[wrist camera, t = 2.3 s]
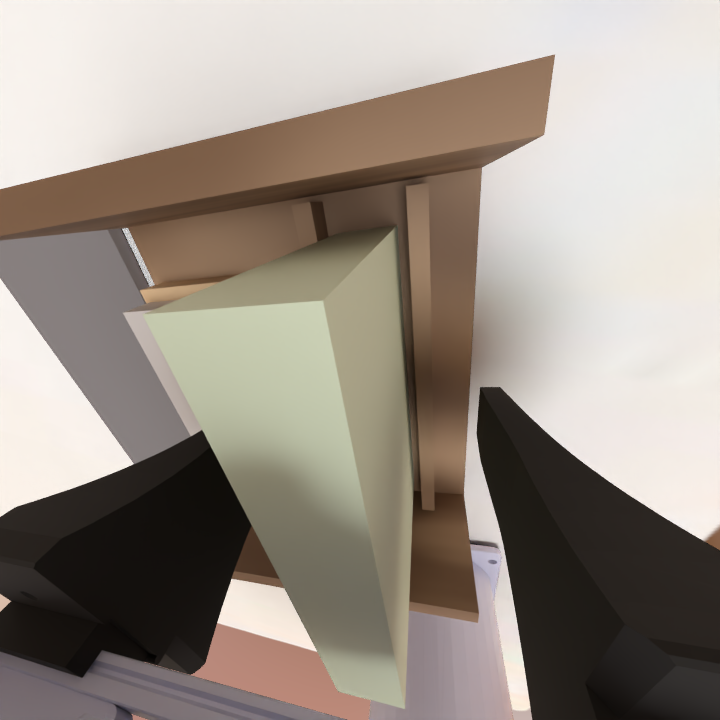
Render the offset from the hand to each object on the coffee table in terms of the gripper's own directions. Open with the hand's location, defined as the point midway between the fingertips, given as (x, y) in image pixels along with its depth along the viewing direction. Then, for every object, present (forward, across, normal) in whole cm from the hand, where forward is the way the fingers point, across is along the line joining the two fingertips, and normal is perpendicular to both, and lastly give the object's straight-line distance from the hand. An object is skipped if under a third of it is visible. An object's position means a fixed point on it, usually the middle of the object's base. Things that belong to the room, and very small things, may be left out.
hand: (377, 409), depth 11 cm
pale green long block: (+2, 0, 0) cm, 2 cm away
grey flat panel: (+3, +15, 0) cm, 15 cm away
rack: (+3, +3, 0) cm, 4 cm away
